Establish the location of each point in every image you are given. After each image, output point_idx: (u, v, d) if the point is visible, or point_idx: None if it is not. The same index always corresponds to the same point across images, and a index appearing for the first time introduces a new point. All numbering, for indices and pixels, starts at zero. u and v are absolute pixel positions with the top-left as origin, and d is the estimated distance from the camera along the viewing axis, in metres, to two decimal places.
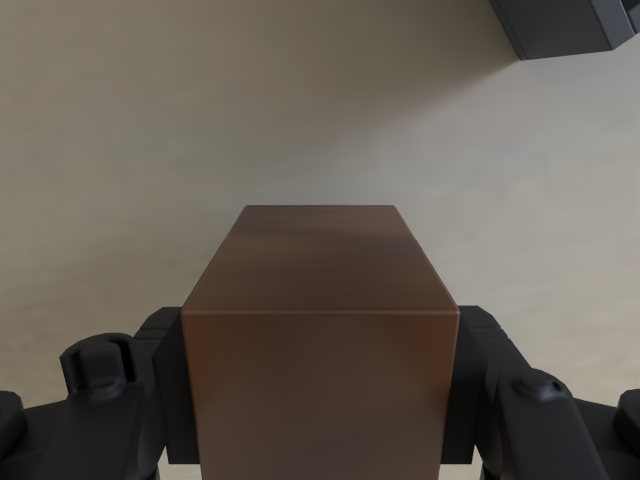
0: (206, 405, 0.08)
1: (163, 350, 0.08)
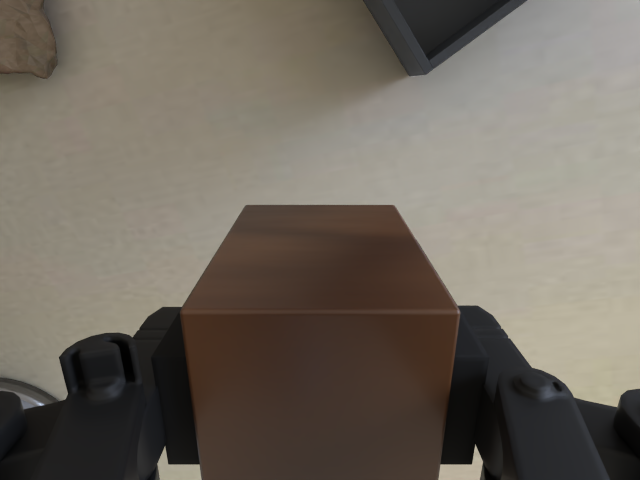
0: (206, 405, 0.08)
1: (162, 350, 0.08)
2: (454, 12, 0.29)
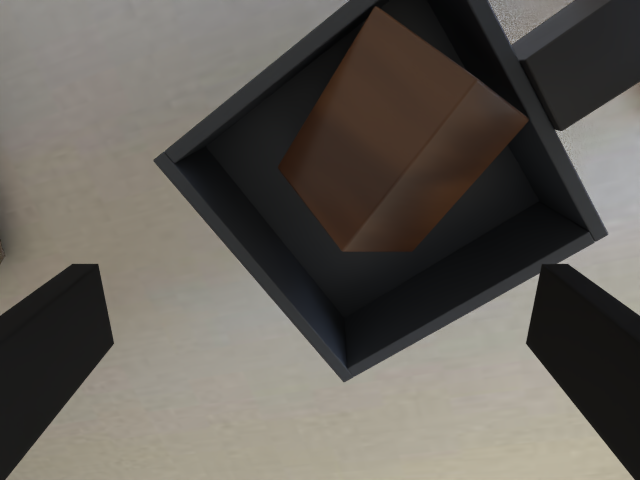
0: None
1: None
2: (393, 265, 0.23)
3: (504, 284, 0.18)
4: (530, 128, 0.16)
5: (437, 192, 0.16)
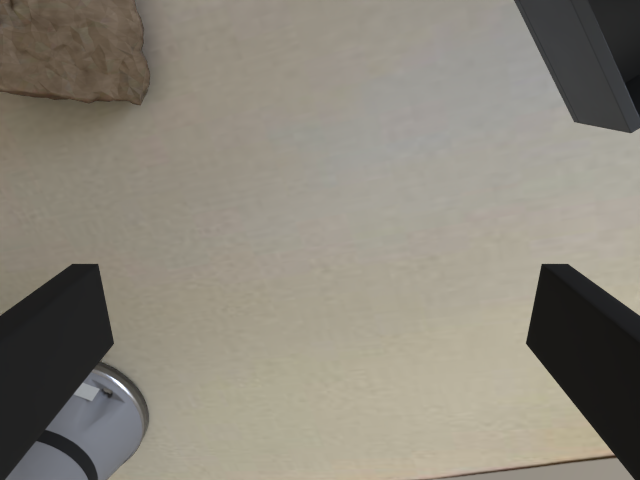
0: None
1: None
2: None
3: None
4: None
5: None
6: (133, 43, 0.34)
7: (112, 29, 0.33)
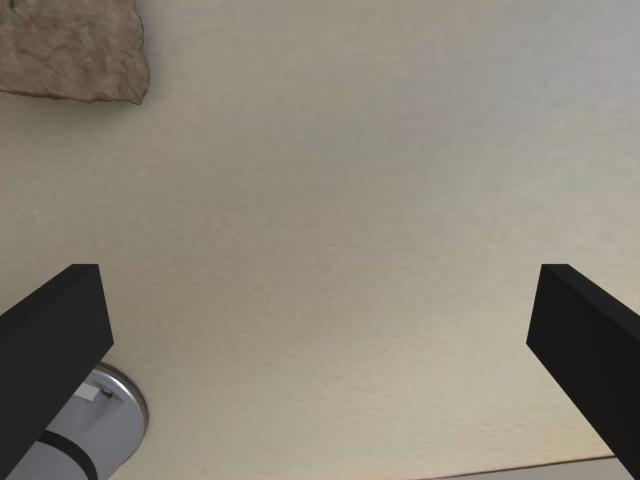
0: None
1: None
2: None
3: None
4: None
5: None
6: (133, 43, 0.34)
7: (112, 29, 0.33)
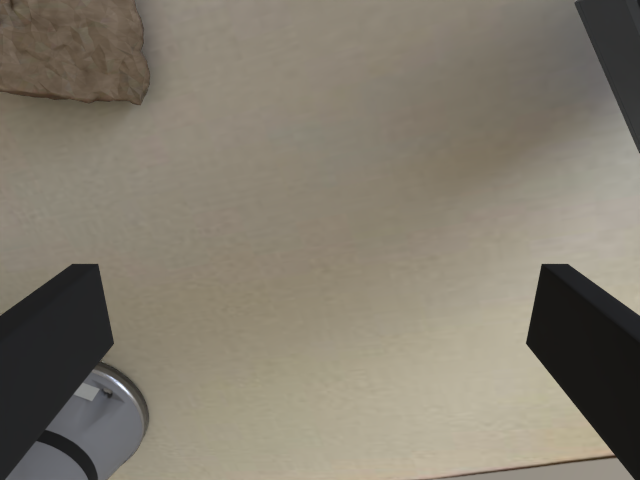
0: None
1: None
2: None
3: None
4: None
5: None
6: (133, 43, 0.34)
7: (112, 29, 0.33)
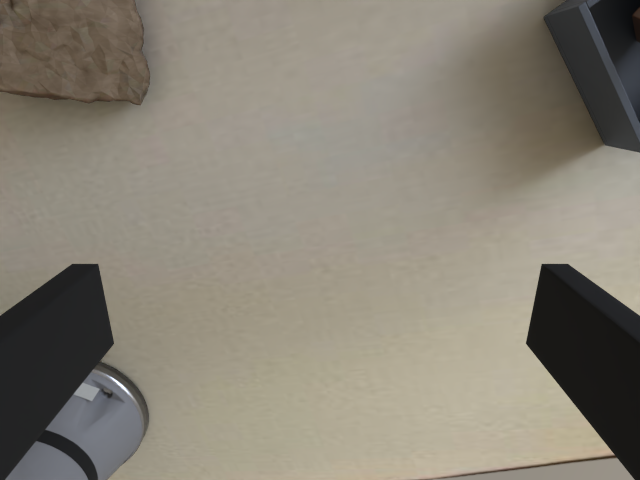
0: None
1: None
2: None
3: None
4: None
5: None
6: (133, 43, 0.34)
7: (112, 29, 0.33)
